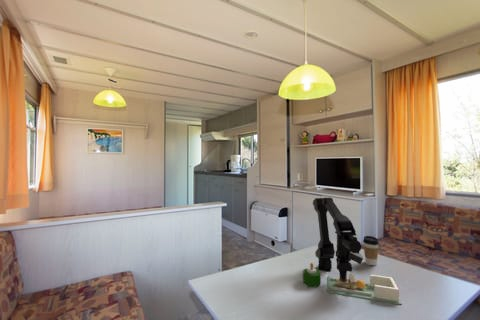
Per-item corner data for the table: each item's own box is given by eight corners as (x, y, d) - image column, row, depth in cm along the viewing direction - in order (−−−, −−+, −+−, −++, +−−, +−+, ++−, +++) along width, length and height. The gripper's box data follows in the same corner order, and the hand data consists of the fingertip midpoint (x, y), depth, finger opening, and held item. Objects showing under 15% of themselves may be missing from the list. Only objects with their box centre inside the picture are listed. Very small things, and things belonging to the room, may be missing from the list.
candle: (321, 288, 115) (321, 267, 115) (303, 286, 116) (303, 265, 116) (319, 279, 123) (319, 260, 123) (302, 278, 125) (302, 258, 125)
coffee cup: (375, 260, 146) (375, 236, 146) (381, 266, 137) (381, 240, 137) (360, 260, 147) (360, 235, 147) (366, 266, 138) (366, 240, 138)
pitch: (328, 292, 111) (328, 280, 111) (327, 277, 125) (327, 267, 125) (401, 304, 101) (401, 292, 101) (392, 287, 116) (392, 275, 116)
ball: (356, 290, 112) (356, 281, 112) (355, 285, 116) (355, 277, 116) (365, 291, 111) (365, 283, 111) (364, 287, 115) (364, 279, 115)
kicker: (336, 287, 114) (336, 270, 114) (336, 280, 120) (336, 263, 120) (355, 290, 111) (355, 272, 111) (353, 283, 117) (353, 266, 117)
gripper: (364, 254, 104) (364, 290, 104) (359, 240, 122) (359, 271, 122) (337, 251, 108) (337, 285, 108) (335, 238, 126) (335, 268, 126)
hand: (343, 277), depth 116 cm, fingers closed on kicker, 3 cm apart
